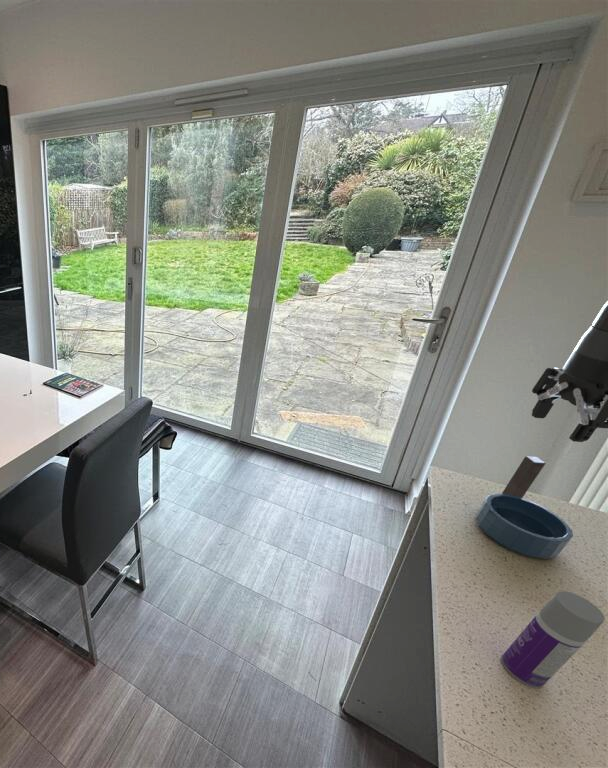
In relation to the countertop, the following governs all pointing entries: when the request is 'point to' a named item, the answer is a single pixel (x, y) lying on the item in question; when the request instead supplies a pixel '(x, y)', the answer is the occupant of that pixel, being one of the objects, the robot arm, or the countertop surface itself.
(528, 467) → the stirring stick
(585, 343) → the robot arm
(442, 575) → the countertop surface
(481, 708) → the countertop surface
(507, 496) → the bowl
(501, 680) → the countertop surface
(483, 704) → the countertop surface
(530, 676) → the container
